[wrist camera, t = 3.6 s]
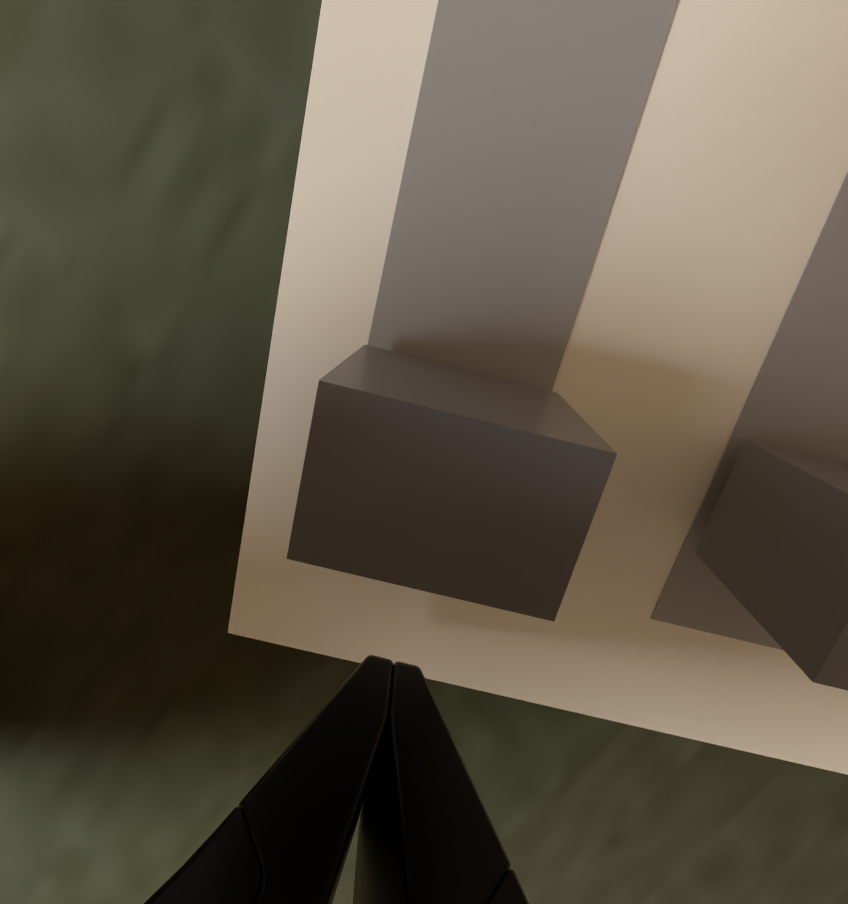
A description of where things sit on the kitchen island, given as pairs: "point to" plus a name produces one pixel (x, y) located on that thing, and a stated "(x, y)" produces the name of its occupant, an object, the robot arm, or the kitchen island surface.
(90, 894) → the kitchen island surface
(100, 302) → the kitchen island surface
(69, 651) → the kitchen island surface
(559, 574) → the tab
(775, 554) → the tab
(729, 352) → the switch panel
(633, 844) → the kitchen island surface
